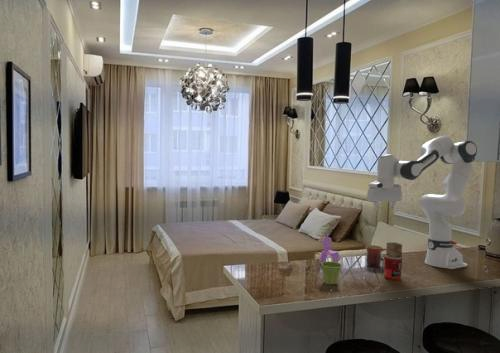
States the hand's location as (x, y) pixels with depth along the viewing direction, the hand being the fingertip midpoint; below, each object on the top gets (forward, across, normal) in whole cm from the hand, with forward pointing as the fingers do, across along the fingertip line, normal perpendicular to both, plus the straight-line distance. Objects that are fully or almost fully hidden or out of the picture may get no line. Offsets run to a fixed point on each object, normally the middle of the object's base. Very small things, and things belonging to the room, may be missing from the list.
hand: (384, 209), depth 212 cm
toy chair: (+30, +30, -6) cm, 43 cm away
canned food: (+31, +10, +21) cm, 39 cm away
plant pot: (+30, +44, +21) cm, 57 cm away
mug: (+31, +5, +1) cm, 31 cm away
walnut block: (+19, +10, +21) cm, 30 cm away
